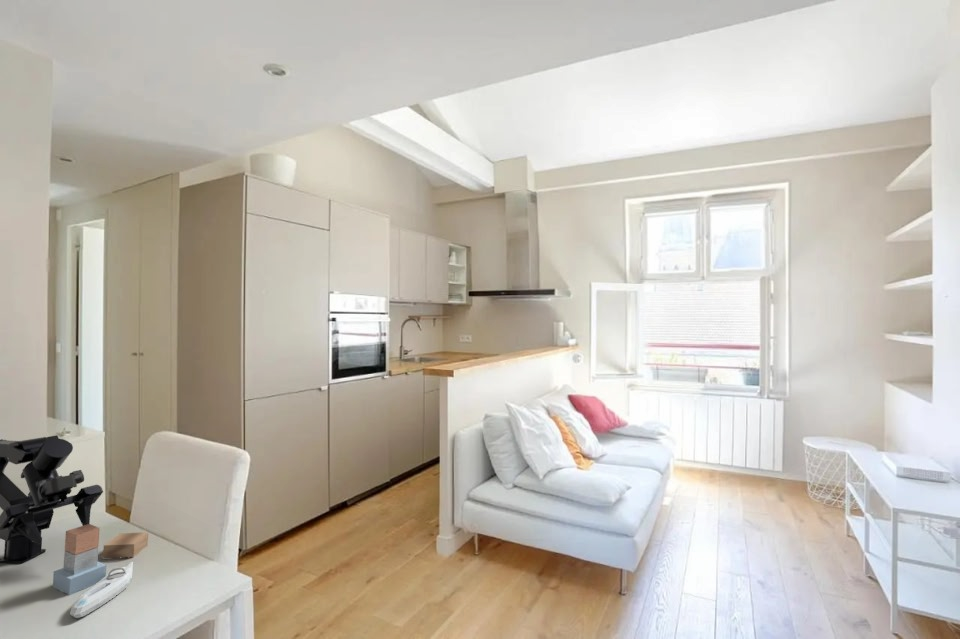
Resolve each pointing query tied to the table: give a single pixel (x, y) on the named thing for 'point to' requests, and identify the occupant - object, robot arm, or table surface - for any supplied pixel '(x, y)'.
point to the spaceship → (103, 591)
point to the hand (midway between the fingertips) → (64, 535)
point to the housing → (81, 549)
